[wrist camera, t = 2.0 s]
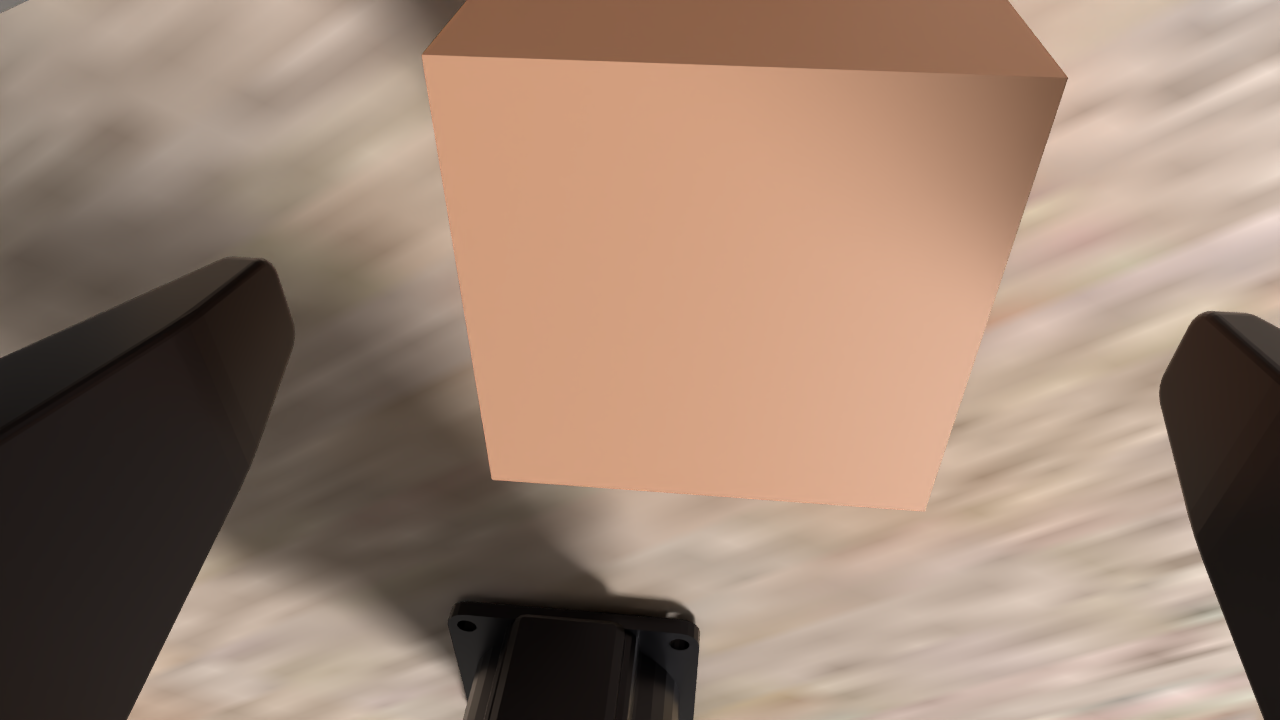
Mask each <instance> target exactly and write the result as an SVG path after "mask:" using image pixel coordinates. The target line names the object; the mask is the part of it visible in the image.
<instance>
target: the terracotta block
mask: <svg viewBox="0 0 1280 720" xmlns="http://www.w3.org/2000/svg"><path fill="white" fill-rule="evenodd" d="M422 61H423V67H424V73H425V79H426V85H427V91H428V97H429V103H430V109H431V115H432V121H433V127H434V133H435V139H436V145H437V151H438V157H439V164H440V170H441V176H442V182H443V188H444V194H445V200H446V206H447V212H448V218H449V224H450V230H451V236H452V242H453V248H454V254H455V260H456V266H457V272H458V278H459V284H460V290H461V296H462V302H463V308H464V314H465V321H466V327H467V333H468V339H469V345H470V351H471V357H472V363H473V369H474V375H475V381H476V387H477V393H478V399H479V405H480V411H481V417H482V423H483V429H484V435H485V441H486V447H487V453H488V459H489V465H490V471H491V478H492V480H502V481H516V482H530V483H543V484H557V485H570V486H584V487H598V488H611V489H625V490H639V491H652V492H666V493H679V494H693V495H707V496H720V497H734V498H748V499H761V500H775V501H788V502H802V503H816V504H829V505H843V506H857V507H870V508H884V509H897V510H911V511H925V509H926V506H927V503H928V500H929V497H930V494H931V491H932V488H933V485H934V482H935V479H936V476H937V473H938V470H939V467H940V464H941V461H942V458H943V455H944V452H945V449H946V446H947V443H948V440H949V437H950V434H951V431H952V428H953V425H954V422H955V418H956V415H957V412H958V409H959V406H960V403H961V400H962V397H963V394H964V391H965V388H966V385H967V382H968V379H969V376H970V373H971V370H972V367H973V364H974V361H975V358H976V355H977V352H978V349H979V346H980V343H981V340H982V337H983V334H984V331H985V328H986V325H987V322H988V319H989V315H990V312H991V309H992V306H993V303H994V300H995V297H996V294H997V291H998V288H999V285H1000V282H1001V279H1002V276H1003V273H1004V270H1005V267H1006V264H1007V261H1008V258H1009V255H1010V252H1011V249H1012V246H1013V243H1014V240H1015V237H1016V234H1017V231H1018V228H1019V225H1020V222H1021V219H1022V216H1023V213H1024V209H1025V206H1026V203H1027V200H1028V197H1029V194H1030V191H1031V188H1032V185H1033V182H1034V179H1035V176H1036V173H1037V170H1038V167H1039V164H1040V161H1041V158H1042V155H1043V152H1044V149H1045V146H1046V143H1047V140H1048V137H1049V134H1050V131H1051V128H1052V125H1053V122H1054V119H1055V116H1056V113H1057V110H1058V106H1059V103H1060V100H1061V97H1062V94H1063V91H1064V88H1065V85H1066V82H1067V79H1068V77H1067V76H1066V75H1065V73H1064V72H1063V71H1062V69H1061V68H1060V67H1059V66H1058V64H1057V63H1056V62H1055V60H1054V59H1053V58H1052V57H1051V55H1050V54H1049V53H1048V51H1047V50H1046V49H1045V47H1044V46H1043V45H1042V44H1041V42H1040V41H1039V40H1038V38H1037V37H1036V36H1035V35H1034V33H1033V32H1032V31H1031V29H1030V28H1029V27H1028V26H1027V24H1026V23H1025V22H1024V20H1023V19H1022V18H1021V17H1020V15H1019V14H1018V13H1017V11H1016V10H1015V9H1014V8H1013V6H1012V5H1011V4H1010V2H1009V1H1008V0H466V2H465V3H464V4H463V5H462V7H461V8H460V9H459V10H458V11H457V13H456V14H455V15H454V16H453V17H452V19H451V20H450V21H449V22H448V23H447V25H446V26H445V27H444V28H443V29H442V31H441V32H440V33H439V34H438V35H437V37H436V38H435V39H434V40H433V42H432V43H431V44H430V45H429V46H428V48H427V49H426V50H425V51H424V52H423V54H422Z"/></svg>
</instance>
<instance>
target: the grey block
mask: <svg viewBox="0 0 1280 720" xmlns="http://www.w3.org/2000/svg"><path fill="white" fill-rule="evenodd" d="M25 1H27V0H0V13H2V12H4V11H6V10H8V9H11V8H13V7H15V6H17V5H19V4H21V3H23V2H25Z"/></svg>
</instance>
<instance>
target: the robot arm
mask: <svg viewBox="0 0 1280 720" xmlns="http://www.w3.org/2000/svg"><path fill="white" fill-rule="evenodd" d="M294 339H295V330H294V324H293V320H292V317H291V314H290V311H289V308H288V304H287V301H286V298H285V295H284V292H283V289H282V286H281V283H280V280H279V277H278V274H277V272H276V269H275V268H274V266H273V265H272V264H271V263H270V262H269V261H267V260H265V259H262V258H246V257H226V258H223V259H221V260H219V261H216V262H214V263H212V264H210V265H207V266H205V267H203V268H201V269H198V270H196V271H194V272H192V273H189V274H187V275H185V276H183V277H181V278H178V279H176V280H174V281H172V282H169V283H167V284H165V285H163V286H160V287H158V288H156V289H154V290H152V291H149V292H147V293H145V294H143V295H140V296H138V297H136V298H134V299H131V300H129V301H127V302H125V303H123V304H120V305H118V306H116V307H114V308H111V309H109V310H107V311H105V312H102V313H100V314H98V315H96V316H94V317H91V318H89V319H87V320H85V321H82V322H80V323H78V324H76V325H73V326H71V327H69V328H67V329H65V330H62V331H60V332H58V333H56V334H53V335H51V336H49V337H47V338H44V339H42V340H40V341H38V342H35V343H33V344H31V345H29V346H27V347H24V348H22V349H20V350H18V351H15V352H13V353H11V354H9V355H6V356H4V357H2V358H0V720H127V718H128V716H129V714H130V712H131V710H132V708H133V706H134V704H135V702H136V700H137V698H138V696H139V694H140V692H141V690H142V688H143V686H144V684H145V682H146V680H147V678H148V676H149V673H150V671H151V669H152V667H153V665H154V663H155V661H156V659H157V657H158V655H159V653H160V651H161V649H162V647H163V645H164V643H165V641H166V639H167V637H168V635H169V633H170V631H171V629H172V627H173V625H174V623H175V621H176V618H177V616H178V614H179V612H180V610H181V608H182V606H183V604H184V602H185V600H186V598H187V596H188V594H189V592H190V590H191V588H192V586H193V584H194V582H195V580H196V578H197V576H198V574H199V572H200V570H201V568H202V566H203V563H204V561H205V559H206V557H207V555H208V553H209V551H210V549H211V547H212V545H213V543H214V541H215V539H216V537H217V535H218V533H219V531H220V529H221V527H222V525H223V523H224V521H225V519H226V517H227V515H228V513H229V510H230V508H231V506H232V504H233V502H234V500H235V498H236V496H237V494H238V492H239V490H240V488H241V486H242V484H243V481H244V479H245V477H246V475H247V473H248V471H249V468H250V466H251V463H252V461H253V458H254V456H255V453H256V451H257V448H258V445H259V443H260V440H261V437H262V434H263V431H264V428H265V426H266V423H267V420H268V417H269V414H270V411H271V409H272V406H273V403H274V400H275V397H276V394H277V392H278V389H279V386H280V383H281V380H282V377H283V374H284V372H285V369H286V366H287V363H288V360H289V357H290V355H291V352H292V349H293V345H294ZM1159 397H1160V405H1161V409H1162V413H1163V417H1164V421H1165V425H1166V429H1167V433H1168V437H1169V441H1170V445H1171V449H1172V453H1173V457H1174V461H1175V465H1176V469H1177V473H1178V477H1179V481H1180V485H1181V489H1182V493H1183V497H1184V501H1185V505H1186V509H1187V513H1188V517H1189V520H1190V523H1191V527H1192V530H1193V534H1194V537H1195V540H1196V543H1197V546H1198V549H1199V551H1200V554H1201V557H1202V560H1203V563H1204V565H1205V568H1206V571H1207V573H1208V576H1209V578H1210V581H1211V584H1212V586H1213V589H1214V591H1215V594H1216V597H1217V599H1218V602H1219V604H1220V607H1221V610H1222V612H1223V615H1224V617H1225V620H1226V623H1227V625H1228V628H1229V630H1230V633H1231V635H1232V638H1233V641H1234V643H1235V646H1236V648H1237V651H1238V654H1239V656H1240V659H1241V661H1242V664H1243V667H1244V669H1245V672H1246V674H1247V677H1248V680H1249V682H1250V685H1251V687H1252V690H1253V693H1254V695H1255V698H1256V700H1257V703H1258V706H1259V708H1260V711H1261V713H1262V716H1263V718H1264V720H1280V328H1278V327H1276V326H1274V325H1272V324H1270V323H1268V322H1266V321H1265V320H1263V319H1261V318H1259V317H1257V316H1255V315H1252V314H1248V313H1237V312H1218V311H1207V312H1204V313H1202V314H1200V315H1198V316H1197V317H1196V318H1195V319H1194V320H1193V321H1192V322H1191V324H1190V325H1189V327H1188V329H1187V331H1186V333H1185V335H1184V336H1183V338H1182V340H1181V342H1180V344H1179V346H1178V348H1177V350H1176V352H1175V354H1174V356H1173V358H1172V359H1171V361H1170V363H1169V365H1168V367H1167V369H1166V371H1165V373H1164V375H1163V377H1162V380H1161V384H1160V391H1159ZM448 627H449V630H450V634H451V638H452V642H453V646H454V650H455V654H456V658H457V662H458V666H459V669H460V673H461V677H462V681H463V685H464V689H465V693H466V697H467V701H468V702H467V706H466V710H465V714H464V717H463V720H693V716H694V703H695V691H696V679H697V667H698V655H699V640H700V631H699V628H698V627H697V626H696V625H695V624H693V623H691V622H689V621H685V620H679V619H668V618H656V617H644V616H632V615H621V614H609V613H597V612H585V611H574V610H562V609H550V608H538V607H527V606H515V605H503V604H492V603H480V602H459V603H456V604H455V605H454V606H453V607H452V610H451V613H450V617H449V620H448Z"/></svg>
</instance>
